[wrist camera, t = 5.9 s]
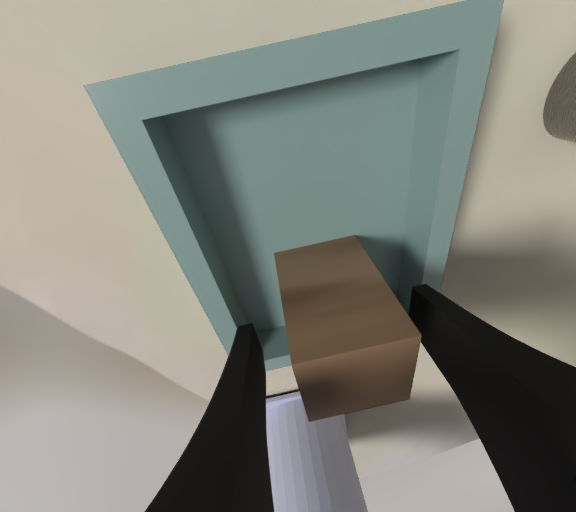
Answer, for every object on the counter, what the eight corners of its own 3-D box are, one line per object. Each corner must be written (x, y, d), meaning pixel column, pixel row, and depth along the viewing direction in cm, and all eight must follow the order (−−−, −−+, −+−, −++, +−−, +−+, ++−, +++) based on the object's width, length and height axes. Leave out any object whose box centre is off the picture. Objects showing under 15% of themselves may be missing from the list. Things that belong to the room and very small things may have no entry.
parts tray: (407, 300, 17) (430, 333, 15) (240, 339, 17) (239, 377, 15) (443, 10, 9) (506, -9, 7) (122, 82, 9) (83, 85, 7)
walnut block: (356, 293, 15) (409, 399, 10) (288, 309, 15) (308, 421, 10) (354, 234, 13) (421, 335, 8) (273, 252, 13) (291, 365, 8)
